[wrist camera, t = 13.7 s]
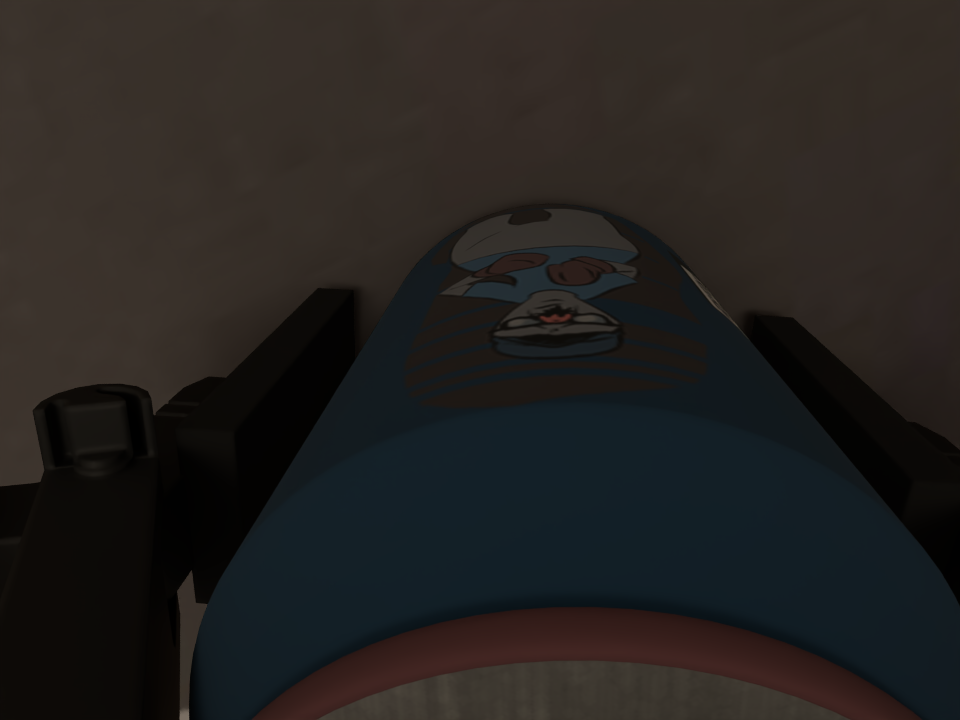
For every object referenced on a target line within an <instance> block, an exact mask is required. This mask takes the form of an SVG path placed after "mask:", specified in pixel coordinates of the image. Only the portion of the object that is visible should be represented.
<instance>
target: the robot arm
mask: <svg viewBox="0 0 960 720" xmlns="http://www.w3.org/2000/svg"><path fill="white" fill-rule="evenodd" d="M750 341H751V342H752V344H753V345H754V346H755V347H756V348H757V350H758V351H759V352H760V353H761V354H762V356H763V357H764V358H765V359H766V360H767V362H768V363H769V364H770V365H771V366H772V368H773V369H774V370H775V371H776V372H777V374H778V375H779V376H780V377H781V378H782V380H783V381H784V382H785V383H786V384H787V386H788V387H789V388H790V389H791V390H792V392H793V393H794V394H795V395H796V396H797V398H798V399H799V400H800V401H801V402H802V404H803V405H804V406H805V407H806V408H807V410H808V411H809V412H810V413H811V414H812V415H813V417H814V418H815V419H816V420H817V421H818V423H819V424H820V425H821V426H822V427H823V429H824V430H825V431H826V432H827V433H828V435H829V436H830V437H831V438H832V439H833V441H834V442H835V443H836V444H837V445H838V447H839V448H840V449H841V450H842V451H843V453H844V454H845V455H846V456H847V457H848V459H849V460H850V461H851V462H852V463H853V465H854V466H855V467H856V468H857V469H858V471H859V472H860V473H861V474H862V475H863V477H864V478H865V479H866V480H867V481H868V483H869V484H870V485H871V486H872V487H873V489H874V490H875V491H876V492H877V493H878V495H879V496H880V497H881V498H882V499H883V500H884V502H885V503H886V504H887V505H888V506H889V508H890V509H891V510H892V511H893V512H894V514H895V515H896V516H897V517H898V518H899V520H900V521H901V522H902V523H903V524H904V526H905V527H906V528H907V529H908V530H909V532H910V533H911V534H912V535H913V536H914V538H915V539H916V540H917V541H918V542H919V544H920V545H921V546H922V547H923V548H924V550H925V551H926V552H927V554H928V555H929V557H930V558H931V559H932V561H933V562H934V563H935V565H936V566H937V567H938V569H939V570H940V572H941V573H942V575H943V576H944V578H945V580H946V582H947V583H948V585H949V587H950V588H951V590H952V592H953V594H954V595H955V597H956V599H957V602H958V604H959V606H960V450H959V449H957V448H956V447H955V446H954V445H953V444H952V443H951V442H949V441H948V440H947V439H946V438H945V437H943V436H941V435H939V434H937V433H935V432H933V431H931V430H929V429H927V428H925V427H923V426H921V425H920V424H918V423H915V422H907V421H906V420H905V419H904V418H903V417H902V416H901V415H900V414H899V413H897V412H896V411H895V410H894V409H893V408H892V407H891V406H890V405H889V404H888V403H886V402H885V401H884V400H883V399H882V398H881V397H880V396H879V395H878V394H876V393H875V392H874V391H873V390H872V389H871V388H870V387H869V386H868V385H867V384H865V383H864V382H863V381H862V380H861V379H860V378H859V377H858V376H857V375H856V374H854V373H853V372H852V371H851V370H850V369H849V368H848V367H847V366H846V365H845V364H843V363H842V362H841V361H840V360H839V359H838V358H837V357H836V356H835V355H834V354H832V353H831V352H830V351H829V350H828V349H827V348H826V347H825V346H824V345H822V344H821V343H820V342H819V341H818V340H817V339H816V338H815V337H814V336H813V335H811V334H810V333H809V332H808V331H807V330H806V329H805V328H804V327H803V326H802V325H800V324H799V323H798V322H797V321H796V320H795V319H794V318H791V317H775V316H759V315H755V320H754V325H753V330H752V335H751V340H750ZM354 361H355V338H354V290H340V289H324V288H318V289H317V290H316V291H315V292H314V293H313V294H312V295H310V296H309V297H308V298H307V299H306V300H305V301H304V302H303V303H302V304H301V305H300V306H299V307H298V308H297V309H296V310H295V311H294V312H293V313H292V314H291V315H290V316H289V317H288V318H287V319H286V320H285V321H284V322H283V323H282V324H281V325H280V326H279V327H278V328H277V329H276V330H275V331H274V332H273V333H272V334H271V335H270V336H269V337H268V338H266V339H265V340H264V341H263V342H262V343H261V344H260V345H259V346H258V347H257V348H256V349H255V350H254V351H253V352H252V353H251V354H250V355H249V356H248V357H247V358H246V359H245V360H244V361H243V362H242V363H241V364H240V365H239V366H238V367H237V368H236V369H235V370H234V371H233V372H232V373H231V374H230V375H229V376H228V377H227V378H222V377H207V378H204V379H202V380H200V381H198V382H195V383H193V384H191V385H189V386H186V387H184V388H183V389H182V390H181V391H180V392H178V393H177V394H176V395H175V396H174V397H173V398H172V399H170V400H169V403H168V404H165V405H164V406H163V407H161V408H160V409H159V410H158V411H157V412H156V415H153V409H152V401H151V397H150V395H149V393H148V391H146V390H144V389H141V388H139V387H137V386H132V385H125V384H97V385H91V386H84V387H78V388H74V389H71V390H68V391H64V392H61V393H58V394H55V395H53V396H51V397H49V398H47V399H45V400H43V401H42V402H40V403H39V404H38V405H37V407H36V408H35V409H34V410H33V415H34V420H35V425H36V430H37V435H38V440H39V445H40V450H41V455H42V460H43V465H44V473H43V476H42V479H41V482H38V483H31V484H21V485H11V486H0V720H179V717H180V610H179V603H178V595H177V590H178V589H179V587H180V586H181V584H182V583H183V582H184V580H185V579H186V577H187V576H188V574H189V573H190V571H191V570H192V574H193V582H194V590H195V598H196V603H203V604H208V603H209V600H210V598H211V596H212V594H213V592H214V590H215V588H216V586H217V584H218V582H219V580H220V578H221V577H222V575H223V573H224V572H225V570H226V568H227V567H228V565H229V563H230V562H231V560H232V558H233V557H234V555H235V554H236V552H237V550H238V549H239V547H240V546H241V544H242V542H243V541H244V539H245V537H246V536H247V534H248V533H249V531H250V529H251V528H252V526H253V524H254V523H255V521H256V520H257V518H258V516H259V515H260V513H261V512H262V510H263V508H264V507H265V505H266V503H267V502H268V500H269V499H270V497H271V495H272V494H273V492H274V491H275V489H276V487H277V486H278V484H279V482H280V481H281V479H282V478H283V476H284V474H285V473H286V471H287V469H288V468H289V466H290V465H291V463H292V461H293V460H294V458H295V457H296V455H297V453H298V452H299V450H300V448H301V447H302V445H303V444H304V442H305V440H306V439H307V437H308V436H309V434H310V432H311V431H312V429H313V427H314V426H315V424H316V423H317V421H318V419H319V418H320V416H321V414H322V413H323V411H324V410H325V408H326V406H327V405H328V403H329V402H330V400H331V398H332V397H333V395H334V393H335V392H336V390H337V389H338V387H339V385H340V384H341V382H342V380H343V379H344V377H345V376H346V374H347V372H348V371H349V369H350V368H351V366H352V364H353V363H354Z"/></svg>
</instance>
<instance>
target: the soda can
mask: <svg viewBox="0 0 960 720" xmlns="http://www.w3.org/2000/svg"><path fill="white" fill-rule="evenodd" d="M189 720H960V606H959V604H958V602H957V599H956V597H955V595H954V594H953V592H952V590H951V588H950V587H949V585H948V583H947V582H946V580H945V578H944V576H943V575H942V573H941V572H940V570H939V569H938V567H937V566H936V565H935V563H934V562H933V561H932V559H931V558H930V557H929V555H928V554H927V552H926V551H925V550H924V548H923V547H922V546H921V545H920V544H919V542H918V541H917V540H916V539H915V538H914V536H913V535H912V534H911V533H910V532H909V530H908V529H907V528H906V527H905V526H904V524H903V523H902V522H901V521H900V520H899V518H898V517H897V516H896V515H895V514H894V512H893V511H892V510H891V509H890V508H889V506H888V505H887V504H886V503H885V502H884V500H883V499H882V498H881V497H880V496H879V495H878V493H877V492H876V491H875V490H874V489H873V487H872V486H871V485H870V484H869V483H868V481H867V480H866V479H865V478H864V477H863V475H862V474H861V473H860V472H859V471H858V469H857V468H856V467H855V466H854V465H853V463H852V462H851V461H850V460H849V459H848V457H847V456H846V455H845V454H844V453H843V451H842V450H841V449H840V448H839V447H838V445H837V444H836V443H835V442H834V441H833V439H832V438H831V437H830V436H829V435H828V433H827V432H826V431H825V430H824V429H823V427H822V426H821V425H820V424H819V423H818V421H817V420H816V419H815V418H814V417H813V415H812V414H811V413H810V412H809V411H808V410H807V408H806V407H805V406H804V405H803V404H802V402H801V401H800V400H799V399H798V398H797V396H796V395H795V394H794V393H793V392H792V390H791V389H790V388H789V387H788V386H787V384H786V383H785V382H784V381H783V380H782V378H781V377H780V376H779V375H778V374H777V372H776V371H775V370H774V369H773V368H772V366H771V365H770V364H769V363H768V362H767V360H766V359H765V358H764V357H763V356H762V354H761V353H760V352H759V351H758V350H757V348H756V347H755V346H754V345H753V344H752V342H751V341H750V340H749V339H748V338H747V336H746V335H745V334H744V333H743V332H742V330H741V329H740V328H739V327H738V326H737V325H736V323H735V322H734V321H733V320H732V319H731V317H730V316H729V315H728V314H727V313H726V311H725V310H724V309H723V308H722V307H721V305H720V304H719V303H718V302H717V301H716V299H715V298H714V297H713V296H712V295H711V293H710V292H709V291H708V290H707V289H706V287H705V286H704V285H703V284H702V283H701V281H700V280H699V279H698V278H697V277H696V275H695V274H694V273H693V272H692V271H691V269H690V268H689V267H688V266H687V265H686V264H685V263H684V261H683V260H682V259H681V258H680V257H679V256H678V255H677V254H676V253H675V252H674V251H673V250H672V249H671V248H670V247H669V246H667V245H666V244H665V243H664V242H662V241H661V240H660V239H659V238H657V237H656V236H654V235H653V234H651V233H650V232H648V231H647V230H645V229H643V228H642V227H640V226H638V225H636V224H634V223H632V222H630V221H628V220H626V219H623V218H621V217H619V216H616V215H613V214H610V213H607V212H604V211H600V210H597V209H593V208H587V207H582V206H575V205H566V204H539V205H529V206H521V207H516V208H512V209H507V210H503V211H500V212H497V213H493V214H490V215H488V216H485V217H483V218H480V219H478V220H476V221H474V222H471V223H469V224H467V225H465V226H464V227H462V228H460V229H458V230H457V231H455V232H453V233H452V234H451V235H449V236H448V237H446V238H445V239H443V240H442V241H441V242H439V243H438V244H437V245H436V246H435V247H433V248H432V249H431V250H430V251H429V252H428V253H427V254H426V255H425V256H424V257H423V258H422V259H421V260H420V261H419V262H418V263H417V265H416V266H415V267H414V268H413V269H412V271H411V272H410V273H409V275H408V276H407V277H406V279H405V280H404V282H403V283H402V285H401V287H400V288H399V290H398V291H397V293H396V295H395V296H394V298H393V300H392V301H391V303H390V304H389V306H388V308H387V309H386V311H385V313H384V314H383V316H382V317H381V319H380V321H379V322H378V324H377V325H376V327H375V329H374V330H373V332H372V334H371V335H370V337H369V338H368V340H367V342H366V343H365V345H364V347H363V348H362V350H361V351H360V353H359V355H358V356H357V358H356V359H355V361H354V363H353V364H352V366H351V368H350V369H349V371H348V372H347V374H346V376H345V377H344V379H343V380H342V382H341V384H340V385H339V387H338V389H337V390H336V392H335V393H334V395H333V397H332V398H331V400H330V402H329V403H328V405H327V406H326V408H325V410H324V411H323V413H322V414H321V416H320V418H319V419H318V421H317V423H316V424H315V426H314V427H313V429H312V431H311V432H310V434H309V436H308V437H307V439H306V440H305V442H304V444H303V445H302V447H301V448H300V450H299V452H298V453H297V455H296V457H295V458H294V460H293V461H292V463H291V465H290V466H289V468H288V469H287V471H286V473H285V474H284V476H283V478H282V479H281V481H280V482H279V484H278V486H277V487H276V489H275V491H274V492H273V494H272V495H271V497H270V499H269V500H268V502H267V503H266V505H265V507H264V508H263V510H262V512H261V513H260V515H259V516H258V518H257V520H256V521H255V523H254V524H253V526H252V528H251V529H250V531H249V533H248V534H247V536H246V537H245V539H244V541H243V542H242V544H241V546H240V547H239V549H238V550H237V552H236V554H235V555H234V557H233V558H232V560H231V562H230V563H229V565H228V567H227V568H226V570H225V572H224V573H223V575H222V577H221V578H220V580H219V582H218V584H217V586H216V588H215V590H214V592H213V594H212V596H211V598H210V600H209V603H208V605H207V608H206V611H205V613H204V616H203V619H202V622H201V625H200V628H199V632H198V636H197V640H196V644H195V648H194V652H193V659H192V667H191V674H190V694H189Z"/></svg>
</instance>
